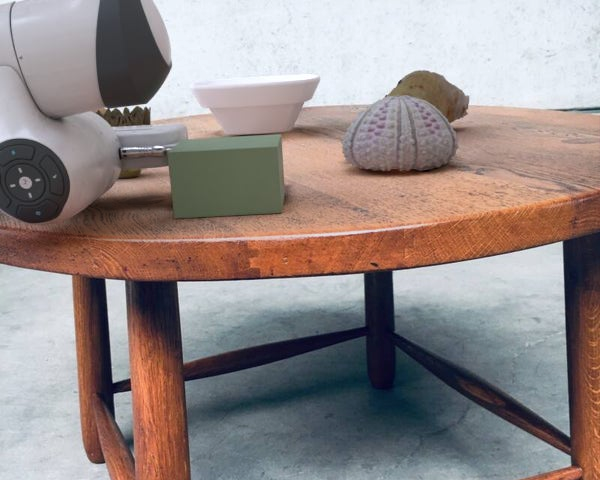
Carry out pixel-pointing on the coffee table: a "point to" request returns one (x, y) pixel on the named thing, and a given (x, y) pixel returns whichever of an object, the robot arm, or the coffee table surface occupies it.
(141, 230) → the coffee table surface
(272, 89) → the bowl
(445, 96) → the mineral
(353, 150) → the sea urchin shell
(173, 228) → the coffee table surface
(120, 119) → the cup
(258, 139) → the block
